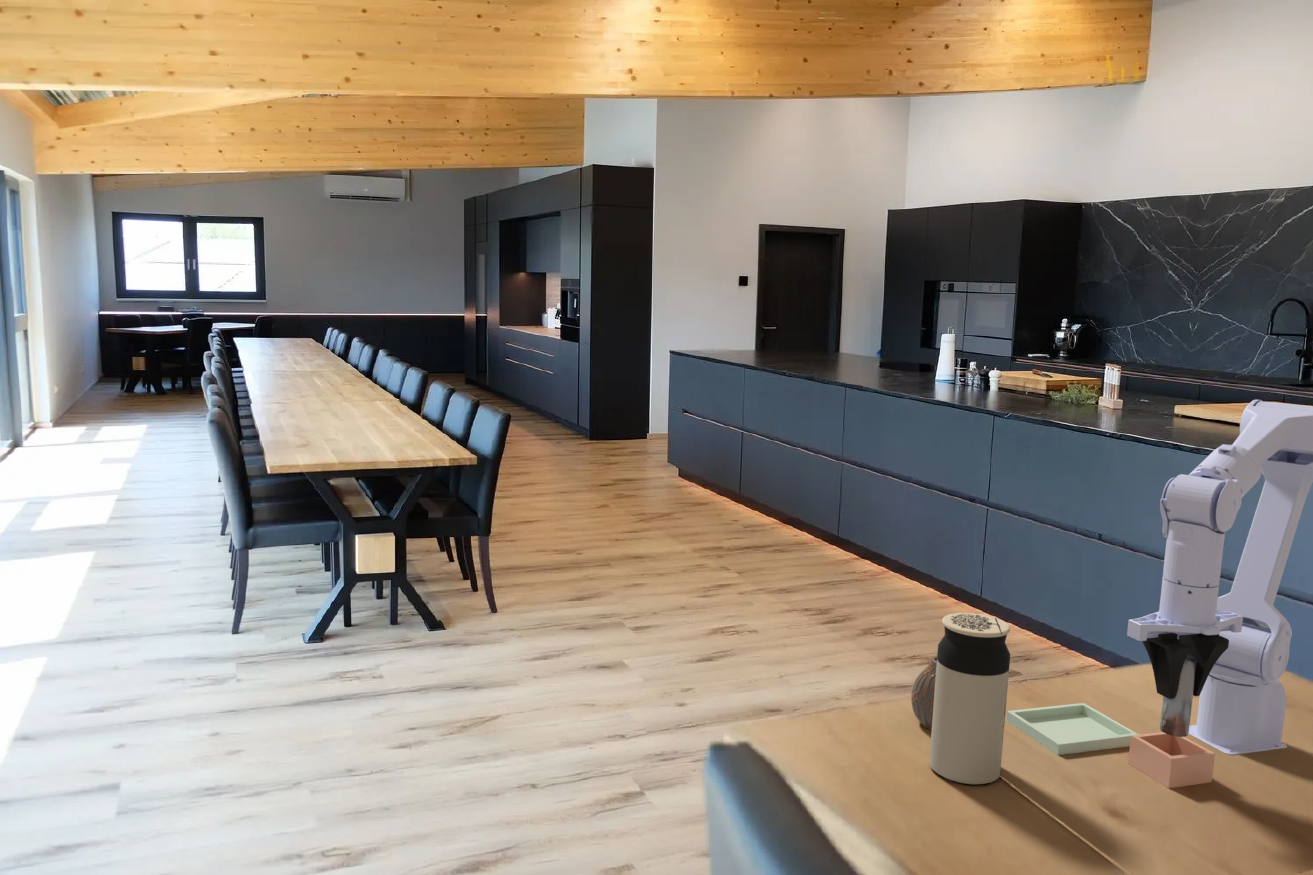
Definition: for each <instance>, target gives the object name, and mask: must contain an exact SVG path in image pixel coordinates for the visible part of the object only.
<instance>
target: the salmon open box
mask: <svg viewBox="0 0 1313 875" xmlns="http://www.w3.org/2000/svg"><path fill="white" fill-rule="evenodd" d="M1138 734H1139V735H1131V740H1130V746H1129V749H1128V750H1129V751H1128V760H1127V764H1128V765H1129V766H1131V767H1133V768H1134V769H1136V770H1138V771H1139V772H1141V773H1143V774H1144V775H1145V776H1147V777H1149V778H1150V779H1152V780H1153V781H1155V782H1157V783H1159V784H1160V785H1162V786H1164V787H1166V789H1175V788H1182V787H1189V786H1190V787H1191V786H1194V785H1195V786H1196V785H1202V784H1209V783H1212V782H1213V776H1214V769H1215V768H1214V767H1215V766H1214V765H1215V759H1216V758H1215V757H1216V753H1215V752H1214V751H1212V750H1210V749H1208V748H1207V747H1205V746H1203V745H1201V744H1199V743H1197V742H1195V741H1194V740H1191V738H1188V737H1187V736H1186V737H1177V736H1172V735H1168V734H1166V733H1164V732H1162V731H1157V732H1150V733H1142V734H1141V733H1138Z"/></svg>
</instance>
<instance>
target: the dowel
mask: <svg viewBox="0 0 1313 875" xmlns="http://www.w3.org/2000/svg"><path fill="white" fill-rule="evenodd" d="M1196 666H1197V659H1196V658H1195V657H1193V656H1191V655H1187V657H1186V659H1185V662H1184V664H1183V667H1182V670H1181V674H1180V679H1179V685H1178V691H1177V694H1176V697H1175V699H1168V698H1166V697H1164V696H1162V704H1161V705H1162V706H1161V713H1160V714H1161V715H1160V721H1159V722H1160V723H1159V730H1160V732H1164V733H1166V734H1168V735H1172V736H1177V737H1186V738H1187V737H1188V736H1189V735H1190V734H1189V726H1191V716H1192V707H1193V699H1194V696H1193V692H1194V683H1195V674H1196Z"/></svg>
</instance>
